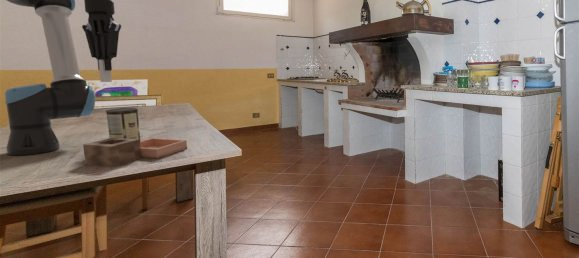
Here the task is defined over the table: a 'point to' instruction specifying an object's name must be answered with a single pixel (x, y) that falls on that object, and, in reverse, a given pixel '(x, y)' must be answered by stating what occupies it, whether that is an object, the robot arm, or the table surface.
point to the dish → (161, 147)
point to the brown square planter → (112, 151)
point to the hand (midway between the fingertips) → (106, 81)
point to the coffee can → (123, 123)
